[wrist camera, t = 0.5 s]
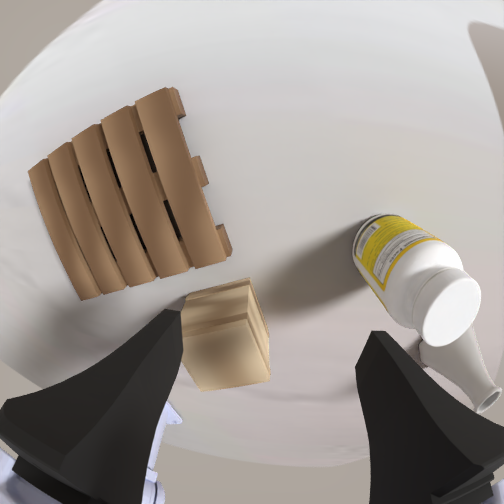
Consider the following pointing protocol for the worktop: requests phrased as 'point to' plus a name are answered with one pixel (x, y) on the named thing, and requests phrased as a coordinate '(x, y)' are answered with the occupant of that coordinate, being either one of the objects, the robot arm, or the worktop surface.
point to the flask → (463, 368)
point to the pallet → (128, 200)
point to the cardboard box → (225, 337)
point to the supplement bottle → (416, 278)
